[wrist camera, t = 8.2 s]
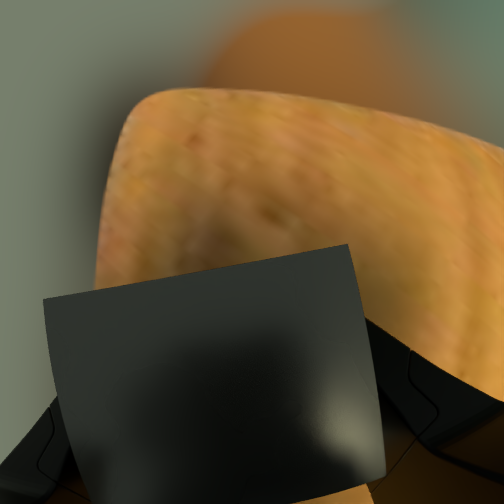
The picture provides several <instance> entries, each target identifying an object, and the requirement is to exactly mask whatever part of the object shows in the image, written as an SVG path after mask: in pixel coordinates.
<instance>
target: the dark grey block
mask: <svg viewBox="0 0 504 504" xmlns="http://www.w3.org/2000/svg"><path fill="white" fill-rule="evenodd" d="M43 305H44V315H45V325H46V333H47V341H48V348H49V354H50V360H51V366H52V372H53V376H54V382H55V386H56V391H57V396H58V401H59V405H60V409H61V413H62V417H63V421H64V424H65V428H66V432H67V435H68V438H69V442H70V445H71V448H72V451H73V454H74V457H75V460H76V463H77V466H78V469H79V472H80V475H81V477H82V480H83V483H84V485H85V488H86V490H87V493H88V495H89V498H90V500H91V502H92V504H291V503H296V502H301V501H305V500H309V499H314V498H318V497H322V496H326V495H329V494H333V493H336V492H340V491H343V490H347V489H350V488H353V487H356V486H359V485H362V484H365V483H368V482H371V481H374V480H377V479H379V478H382V477H385V476H386V463H385V452H384V441H383V432H382V423H381V415H380V407H379V399H378V392H377V385H376V379H375V372H374V366H373V360H372V354H371V349H370V343H369V338H368V332H367V327H366V322H365V317H364V312H363V307H362V303H361V298H360V293H359V289H358V284H357V280H356V276H355V271H354V267H353V263H352V259H351V255H350V251H349V247H348V244H344V245H339V246H334V247H329V248H324V249H318V250H313V251H308V252H303V253H297V254H292V255H287V256H282V257H276V258H271V259H266V260H260V261H255V262H250V263H244V264H239V265H233V266H228V267H223V268H217V269H212V270H206V271H201V272H195V273H190V274H184V275H179V276H173V277H168V278H162V279H156V280H151V281H145V282H140V283H134V284H128V285H123V286H117V287H111V288H106V289H100V290H94V291H88V292H83V293H77V294H72V295H65V296H59V297H53V298H47V299H43Z"/></svg>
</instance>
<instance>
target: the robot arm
mask: <svg viewBox="0 0 504 504" xmlns="http://www.w3.org/2000/svg"><path fill="white" fill-rule="evenodd" d="M365 322H366V327H367V332H368V338H369V343H370V349H371V354H372V360H373V366H374V372H375V379H376V385H377V392H378V399H379V407H380V415H381V423H382V432H383V441H384V452H385V463H386V476H385V477H382V478H379V479H377V480H374V481H371V482H368V483H366V484H367V487H368V489H369V492H370V493H372V494H371V497H372V499H373V502H374V504H504V402H503V401H500V400H497V399H495V398H493V397H491V396H489V395H487V394H486V393H484V392H482V391H480V390H478V389H476V388H474V387H473V386H471V385H469V384H467V383H465V382H463V381H462V380H460V379H458V378H456V377H454V376H453V375H451V374H449V373H447V372H446V371H444V370H442V369H440V368H439V367H437V366H436V365H434V364H433V363H431V362H430V361H428V360H427V359H425V358H424V357H422V356H421V355H419V354H418V353H416V352H415V351H413V350H411V351H410V348H409V347H408V346H406V345H405V344H403V343H402V342H400V341H399V340H397V339H396V338H395V337H393V336H392V335H390V334H389V333H387V332H386V331H384V330H383V329H382V328H380V327H379V326H377V325H376V324H374V323H373V322H371V321H370V320H369V319H367V318H366V317H365ZM0 504H92V502H91V500H90V498H89V495H88V493H87V490H86V488H85V485H84V483H83V480H82V477H81V475H80V472H79V469H78V466H77V463H76V460H75V457H74V454H73V451H72V448H71V445H70V442H69V438H68V435H67V432H66V428H65V424H64V421H63V417H62V413H61V409H60V405H59V401H58V396H56V398H55V399H54V400H53V402H52V403H51V404H50V407H48V408H47V409H46V411H45V412H44V413H43V414H42V416H41V417H40V418H39V420H38V421H37V422H36V424H35V425H34V426H33V427H32V429H31V430H30V431H29V432H28V433H27V435H26V436H25V437H24V438H23V439H22V440H21V442H20V443H19V444H18V445H17V446H16V447H15V448H14V449H13V451H12V452H11V453H10V454H9V455H8V456H7V457H6V459H5V460H4V461H3V462H2V463H1V464H0Z"/></svg>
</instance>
